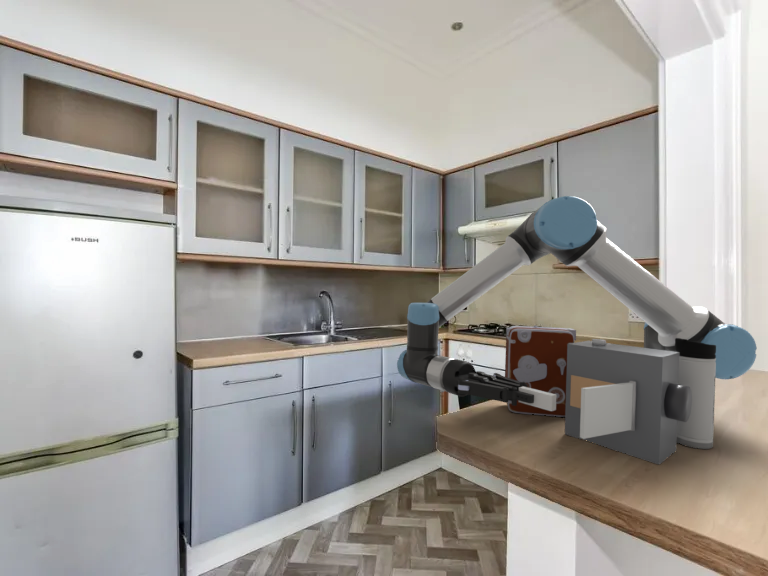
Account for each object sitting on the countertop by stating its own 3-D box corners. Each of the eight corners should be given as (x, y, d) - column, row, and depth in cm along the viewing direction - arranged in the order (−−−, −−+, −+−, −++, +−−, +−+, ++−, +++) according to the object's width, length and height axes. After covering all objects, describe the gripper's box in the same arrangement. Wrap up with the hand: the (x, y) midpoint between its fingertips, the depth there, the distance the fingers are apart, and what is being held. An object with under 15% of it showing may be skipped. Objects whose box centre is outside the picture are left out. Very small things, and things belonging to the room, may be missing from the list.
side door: (630, 428, 68) (631, 380, 68) (635, 430, 67) (637, 382, 67) (578, 438, 63) (580, 386, 63) (584, 440, 62) (586, 388, 62)
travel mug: (661, 436, 78) (665, 336, 77) (692, 436, 78) (695, 336, 78) (688, 449, 71) (692, 341, 71) (722, 449, 72) (726, 341, 72)
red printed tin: (600, 423, 85) (603, 331, 84) (506, 414, 88) (509, 326, 88) (587, 409, 94) (589, 326, 93) (502, 402, 97) (505, 323, 97)
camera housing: (692, 456, 69) (696, 348, 69) (676, 470, 63) (680, 353, 63) (585, 424, 83) (588, 335, 83) (564, 434, 77) (567, 338, 77)
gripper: (470, 388, 91) (571, 417, 72) (430, 397, 83) (533, 432, 64) (471, 356, 91) (572, 376, 72) (431, 361, 83) (534, 386, 64)
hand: (553, 402), depth 68 cm, fingers closed
